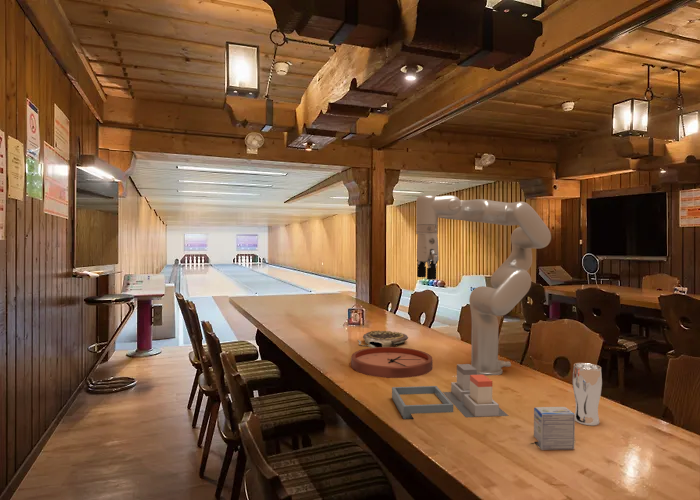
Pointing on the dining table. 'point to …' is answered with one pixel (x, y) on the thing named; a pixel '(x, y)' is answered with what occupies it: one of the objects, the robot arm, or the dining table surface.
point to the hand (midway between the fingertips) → (426, 278)
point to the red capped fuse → (480, 389)
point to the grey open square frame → (412, 409)
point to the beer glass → (587, 392)
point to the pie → (384, 338)
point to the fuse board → (472, 404)
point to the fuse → (465, 376)
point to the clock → (391, 362)
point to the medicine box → (554, 428)
